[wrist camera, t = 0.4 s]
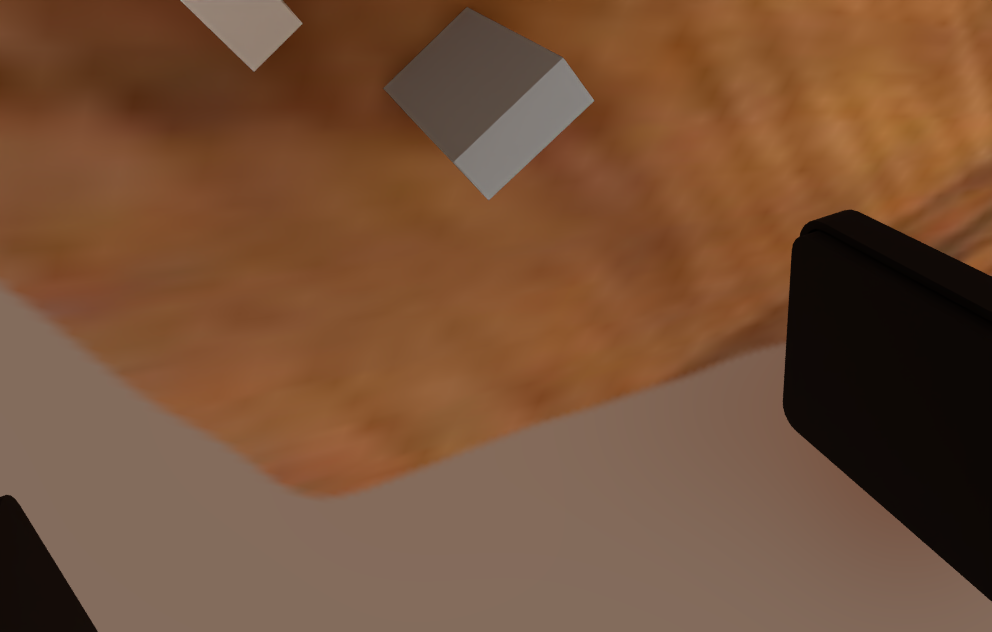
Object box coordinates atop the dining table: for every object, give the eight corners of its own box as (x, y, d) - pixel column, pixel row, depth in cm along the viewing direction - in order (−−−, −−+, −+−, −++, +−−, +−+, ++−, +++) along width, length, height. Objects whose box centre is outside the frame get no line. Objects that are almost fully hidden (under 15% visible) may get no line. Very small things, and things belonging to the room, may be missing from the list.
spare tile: (383, 88, 36) (453, 162, 27) (466, 6, 35) (562, 57, 27) (412, 120, 37) (488, 200, 29) (494, 42, 36) (594, 100, 28)
